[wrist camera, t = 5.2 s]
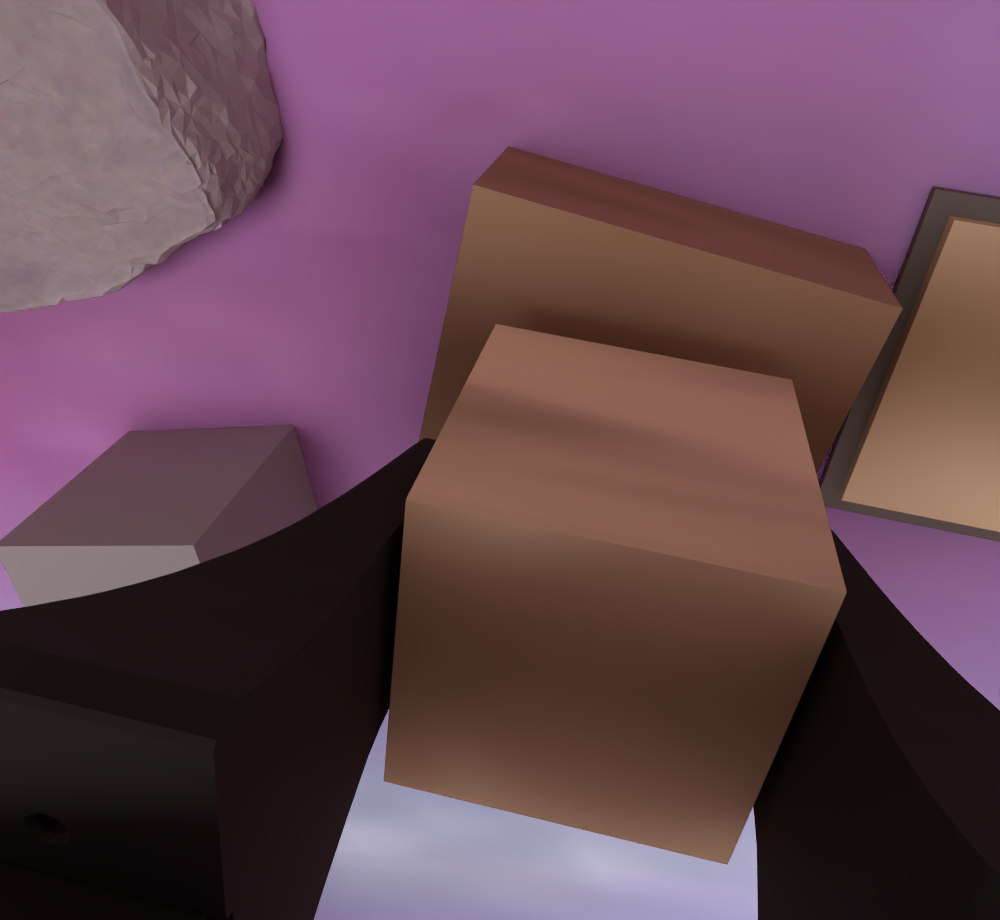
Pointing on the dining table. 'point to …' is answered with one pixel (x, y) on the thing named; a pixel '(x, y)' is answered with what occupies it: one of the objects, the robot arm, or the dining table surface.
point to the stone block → (124, 137)
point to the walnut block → (660, 286)
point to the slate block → (159, 509)
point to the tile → (933, 384)
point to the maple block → (610, 592)
